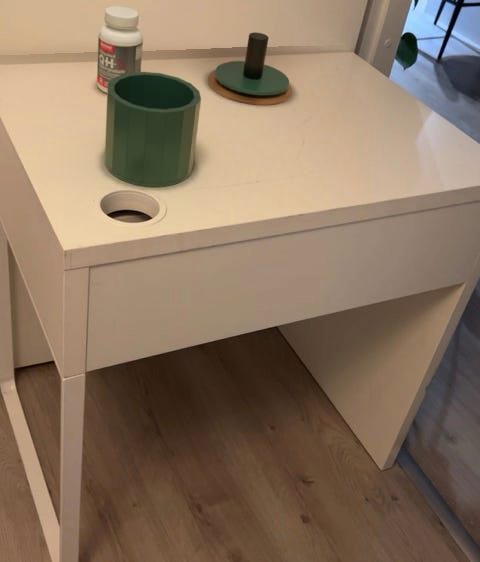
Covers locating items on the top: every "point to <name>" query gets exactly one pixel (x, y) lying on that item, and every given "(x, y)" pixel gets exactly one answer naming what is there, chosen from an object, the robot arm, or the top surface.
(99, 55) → the pill bottle
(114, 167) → the tin
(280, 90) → the tin lid
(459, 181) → the top surface
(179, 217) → the top surface
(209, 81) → the cork mat
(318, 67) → the top surface
